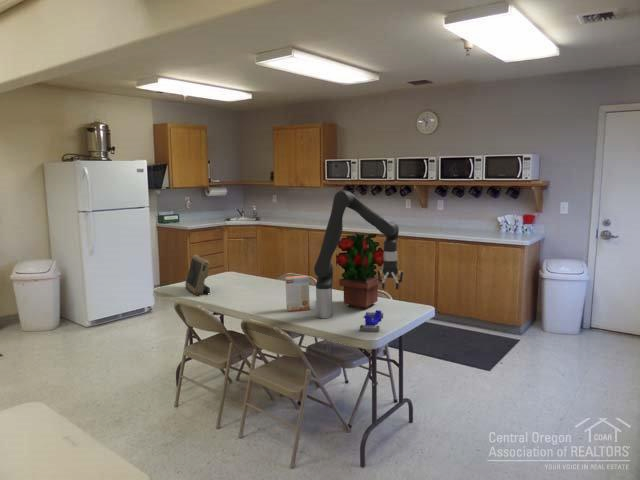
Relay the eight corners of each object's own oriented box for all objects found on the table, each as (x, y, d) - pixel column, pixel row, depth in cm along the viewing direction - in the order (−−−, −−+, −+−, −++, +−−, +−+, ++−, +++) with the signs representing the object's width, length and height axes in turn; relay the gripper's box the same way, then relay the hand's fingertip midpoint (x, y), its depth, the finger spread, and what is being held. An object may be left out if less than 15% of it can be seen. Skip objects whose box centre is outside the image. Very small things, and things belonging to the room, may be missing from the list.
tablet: (181, 288, 360) (179, 255, 356) (199, 285, 367) (197, 253, 364) (195, 297, 332) (193, 261, 329) (215, 294, 340) (213, 259, 336)
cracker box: (308, 307, 301) (307, 274, 298) (310, 310, 295) (309, 276, 292) (286, 309, 299) (285, 276, 296) (287, 311, 293) (286, 278, 290)
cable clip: (372, 327, 261) (372, 316, 260) (365, 325, 264) (365, 315, 263) (383, 321, 270) (383, 311, 270) (376, 320, 273) (376, 310, 272)
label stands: (359, 331, 255) (359, 326, 254) (366, 315, 282) (366, 311, 281) (378, 332, 252) (378, 327, 252) (383, 316, 280) (383, 312, 279)
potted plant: (368, 312, 288) (368, 238, 282) (336, 307, 300) (335, 236, 294) (384, 303, 306) (384, 233, 300) (353, 299, 318) (353, 231, 312)
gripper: (376, 260, 258) (376, 290, 260) (403, 260, 255) (403, 291, 257) (377, 257, 265) (377, 287, 267) (404, 258, 262) (404, 288, 264)
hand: (390, 289), depth 262 cm, fingers open, 6 cm apart
